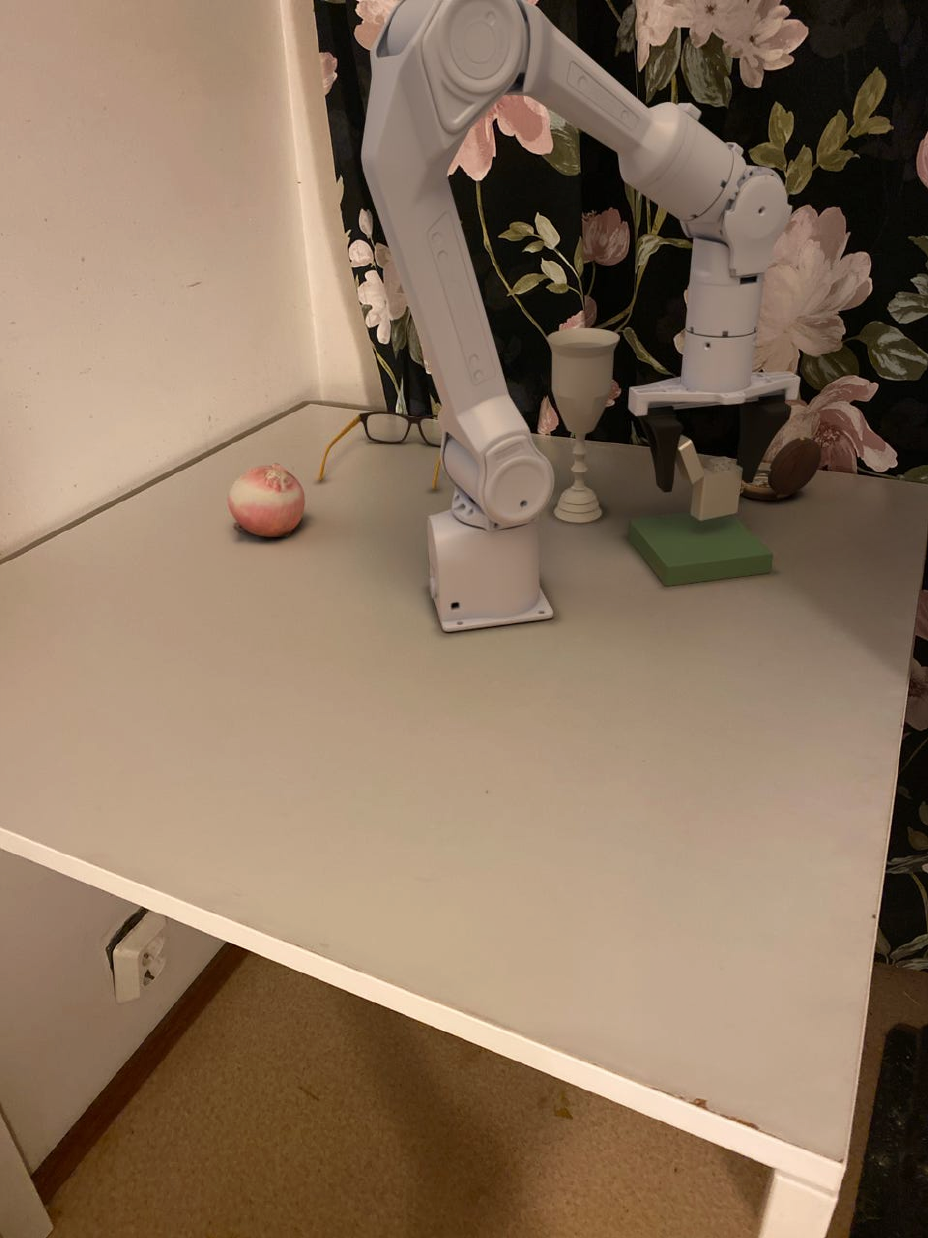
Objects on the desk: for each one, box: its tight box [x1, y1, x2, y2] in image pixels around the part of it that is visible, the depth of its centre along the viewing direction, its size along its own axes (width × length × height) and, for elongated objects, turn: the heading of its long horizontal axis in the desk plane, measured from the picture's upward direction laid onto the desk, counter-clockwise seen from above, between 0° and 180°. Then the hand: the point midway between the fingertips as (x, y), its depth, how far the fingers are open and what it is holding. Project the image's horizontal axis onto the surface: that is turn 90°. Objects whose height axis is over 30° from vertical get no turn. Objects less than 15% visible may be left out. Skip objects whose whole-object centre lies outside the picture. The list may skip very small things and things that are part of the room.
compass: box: [740, 434, 822, 501], centre depth 91 cm, size 8×8×7 cm
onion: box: [227, 462, 306, 538], centre depth 88 cm, size 8×8×7 cm
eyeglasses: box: [318, 410, 441, 491], centre depth 104 cm, size 14×14×4 cm
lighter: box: [675, 434, 743, 521], centre depth 78 cm, size 7×2×8 cm, turn 111°
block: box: [627, 511, 774, 587], centre depth 81 cm, size 10×10×2 cm
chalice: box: [546, 327, 621, 524], centre depth 86 cm, size 7×7×18 cm
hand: (703, 483), depth 78 cm, fingers closed on lighter, 7 cm apart
